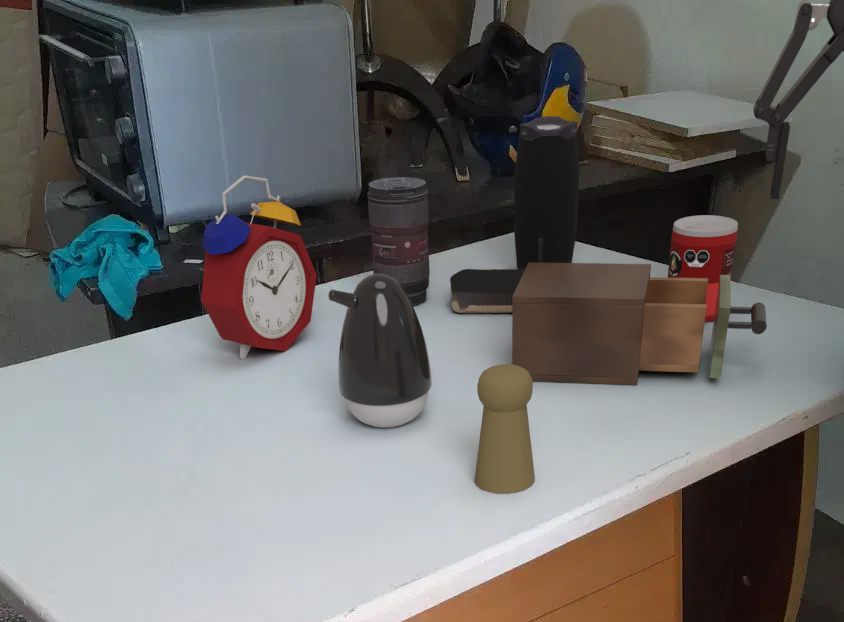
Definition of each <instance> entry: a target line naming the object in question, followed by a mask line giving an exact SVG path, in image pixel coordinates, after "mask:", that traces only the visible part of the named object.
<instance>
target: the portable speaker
mask: <svg viewBox="0 0 844 622" xmlns="http://www.w3.org/2000/svg"><path fill="white" fill-rule="evenodd" d="M578 141H579V140H578V121H577V120H576V121H575V120H571V121H570V120H567V119H564V118H562V117H561V116H556V115H555V116H553V115H546V116H539V117H535V118H534V119H532V120H530V121H528V122H523V123H520V124H519V132H518V140H517V149H516V157H515V166H514V184H513V185H514V193H513V194H514V195H513V196H514V197H513V198H514V199H513V201H514V202H513V206H514V207H513V235H514V248H515V260H516V269H526V267H527V265H528V263H529V262H531V263H573V258H574V251H575V245H576V239H577V233H578V214H579V213H578V211H579V210H578V209H579V191H580V172H581V171H580V170H581V169H580V157H579V142H578Z"/></svg>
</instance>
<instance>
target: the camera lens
mask: <svg viewBox="0 0 844 622" xmlns="http://www.w3.org/2000/svg"><path fill="white" fill-rule="evenodd" d="M367 210H368V222H369V228H370V231H371V232H370V233H371V249H372V273H373V274H386V275H389V276H391V277H393V278H394V279H396V280H397V281H398V282H399V283H400V285H401V286H402V287H403V289H404V290H405V292H406V294H407V295H408V297H409V299H410V301H411V303H412V306H413V307H414V306H418V305H420V304H422V303H424V302H426V300H427V293H428V292H427V290H428V288H429V286H430V274H431V272H430V270H431V269H430V256H429V236H428V233H429V232H428V229H429V228H428V227H429V191H428V188H427V182H426V181H425V179H422V178H418V177H410V176H409V177H406V176H401V177H400V176H399V177H398V176H397V177H384V178H378V179H374V180H371V181H370V182H369V183H368V192H367Z"/></svg>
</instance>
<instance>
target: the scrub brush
mask: <svg viewBox="0 0 844 622" xmlns="http://www.w3.org/2000/svg"><path fill="white" fill-rule="evenodd" d="M524 272H525V269H518V268H501V269H500V268H496V269H495V268H492V269H480V268H479V269H478V268H477V269H474V268H464V269H461V270H459V271H457V272H455V273H454V274H453V275H452V276H450V277H449V283H450V294H451V297H450V306H451V309H452V310H453V311H454V312H456V313H457V314H498V313H500V314H507V313H509V314H512V307H513V294H514V292H515V290H516V288H517V286H518V284H519V282H520V280H521V278H522V276H523V274H524Z"/></svg>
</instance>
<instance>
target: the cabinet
mask: <svg viewBox="0 0 844 622" xmlns="http://www.w3.org/2000/svg"><path fill="white" fill-rule="evenodd" d="M651 272H652V264H651V263H601V262H599V263H597V262H593V263H592V262H589V263H588V262H572V263H531V262H529V263H528V265H527V267H526V269H525V272H524V274H523V276H522V278H521V280H520V282H519V284H518V286H517V288H516V290H515V292H514V294H513V307H512V313H511V315H512V317H511V318H512V321H511V322H512V324H511V327H512V328H511V333H512V334H511V365H517V366H520V367H522V368H524V369H526V370H527V371H528V372H529V374H530V376H531V377H532V381H533V382H541V383H543V382H544V383H566V384H567V383H569V384H595V385H596V384H597V385H618V386H619V385H620V386H621V385H622V386H624V385H625V386H637V385H638V381H639V375H640V371H639V360H640V349H641V338H642V327H643V316H644V304H645V299H646V293H647V288H648V283H649V277H651Z"/></svg>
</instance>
